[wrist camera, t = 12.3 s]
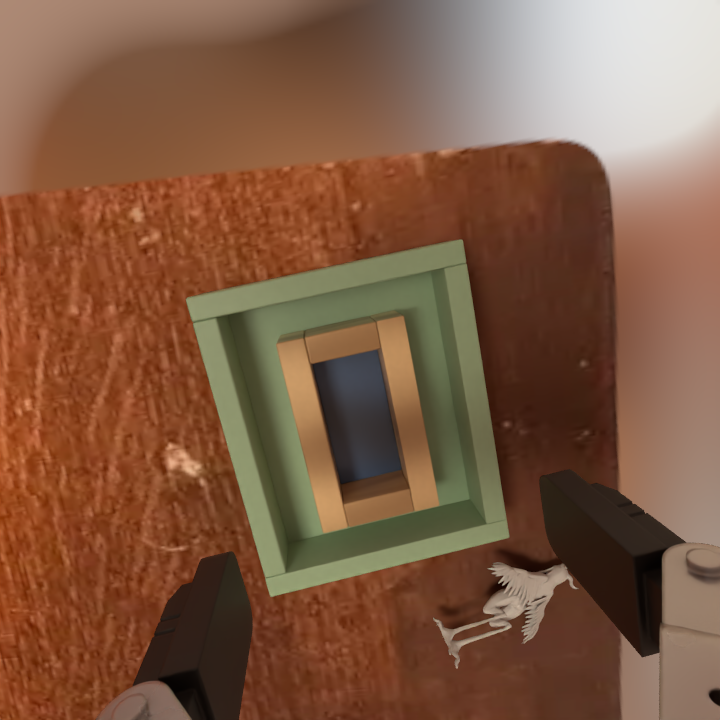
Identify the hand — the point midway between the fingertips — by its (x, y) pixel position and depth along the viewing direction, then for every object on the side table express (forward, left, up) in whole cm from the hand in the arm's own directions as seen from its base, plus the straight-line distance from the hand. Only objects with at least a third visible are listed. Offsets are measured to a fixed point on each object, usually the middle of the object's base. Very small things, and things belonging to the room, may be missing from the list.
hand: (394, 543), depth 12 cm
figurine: (+14, +5, -13) cm, 20 cm away
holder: (0, 0, -12) cm, 12 cm away
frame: (0, 0, -11) cm, 11 cm away
